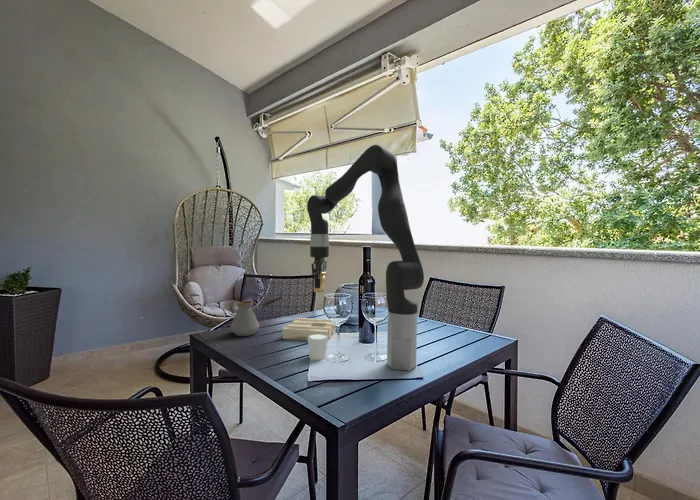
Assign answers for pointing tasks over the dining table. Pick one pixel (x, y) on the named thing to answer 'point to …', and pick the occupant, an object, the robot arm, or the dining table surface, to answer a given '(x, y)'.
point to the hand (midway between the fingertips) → (319, 287)
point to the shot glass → (317, 346)
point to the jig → (308, 328)
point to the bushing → (322, 283)
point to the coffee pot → (247, 318)
